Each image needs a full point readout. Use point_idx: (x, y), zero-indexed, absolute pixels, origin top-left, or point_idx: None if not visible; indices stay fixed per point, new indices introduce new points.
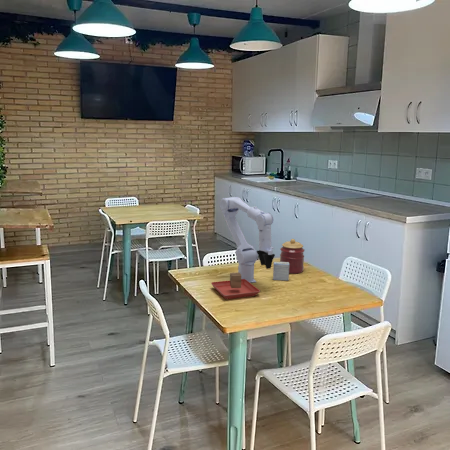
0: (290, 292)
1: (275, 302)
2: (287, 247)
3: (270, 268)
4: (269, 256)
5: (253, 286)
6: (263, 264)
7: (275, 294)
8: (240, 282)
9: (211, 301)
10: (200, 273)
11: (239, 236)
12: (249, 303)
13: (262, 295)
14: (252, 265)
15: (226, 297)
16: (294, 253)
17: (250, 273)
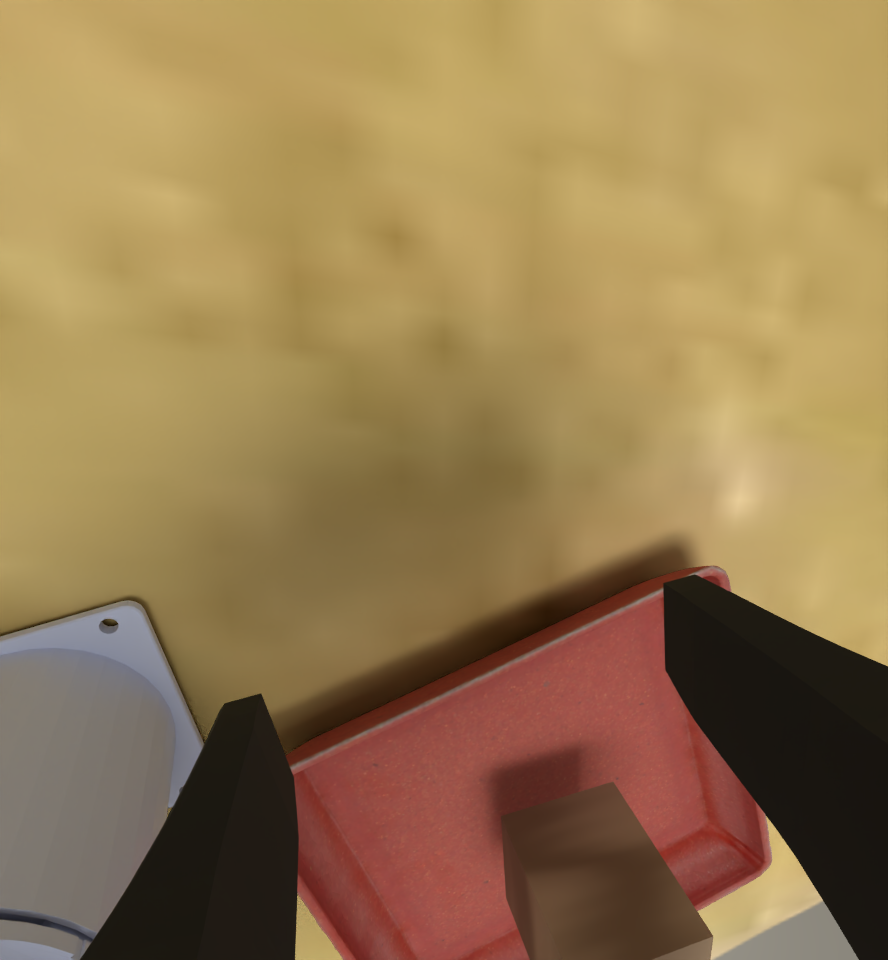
0: (593, 70)
1: (874, 371)
2: None
3: (698, 577)
4: None
5: (542, 653)
6: (279, 751)
7: (645, 340)
8: (652, 847)
9: (723, 900)
10: None
11: None
12: (830, 628)
13: (656, 508)
14: (70, 915)
15: (739, 835)
16: None
17: (136, 790)
